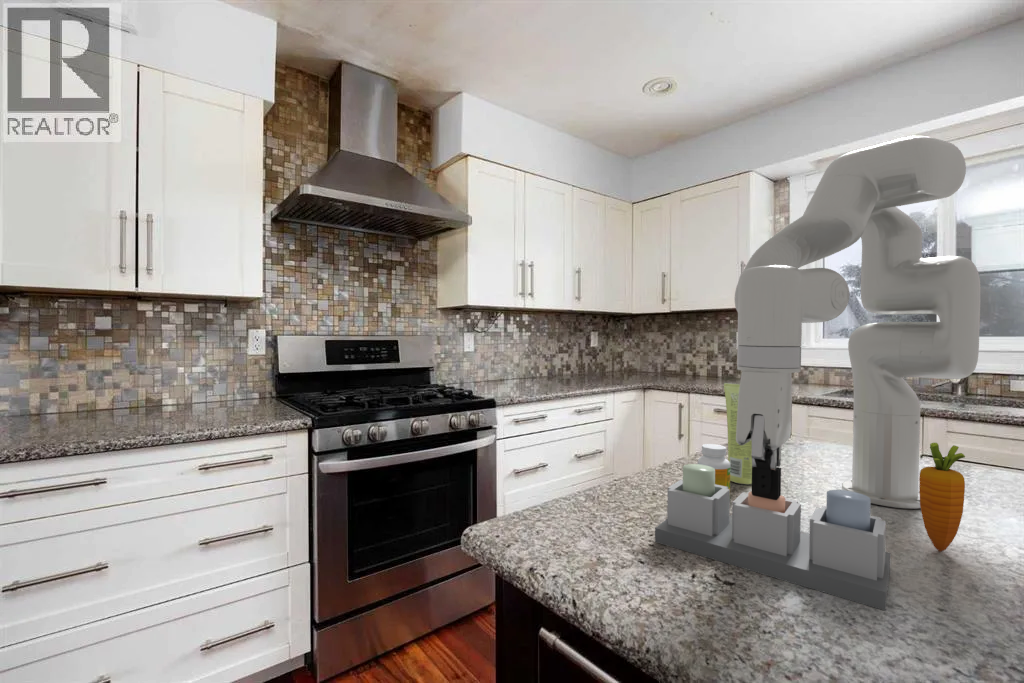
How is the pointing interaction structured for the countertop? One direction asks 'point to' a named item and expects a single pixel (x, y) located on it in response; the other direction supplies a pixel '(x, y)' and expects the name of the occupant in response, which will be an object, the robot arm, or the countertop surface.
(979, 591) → the countertop surface
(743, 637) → the countertop surface
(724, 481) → the supplement bottle
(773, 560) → the three-cup grey tray
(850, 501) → the button slate
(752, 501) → the button terracotta
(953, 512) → the carrot
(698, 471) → the button sage
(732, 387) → the tube
